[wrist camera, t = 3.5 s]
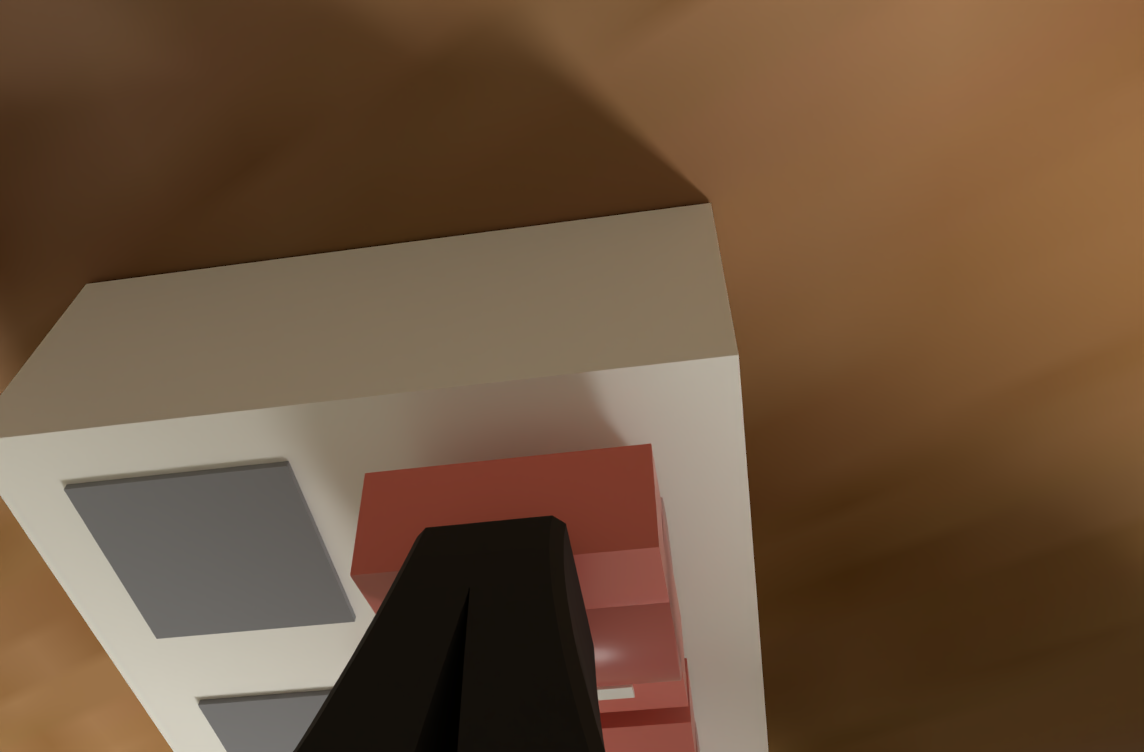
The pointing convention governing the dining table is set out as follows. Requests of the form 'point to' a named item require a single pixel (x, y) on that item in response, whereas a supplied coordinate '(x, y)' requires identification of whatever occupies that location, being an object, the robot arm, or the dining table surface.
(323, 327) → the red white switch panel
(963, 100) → the dining table surface
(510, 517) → the rocker
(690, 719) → the red stepped block
